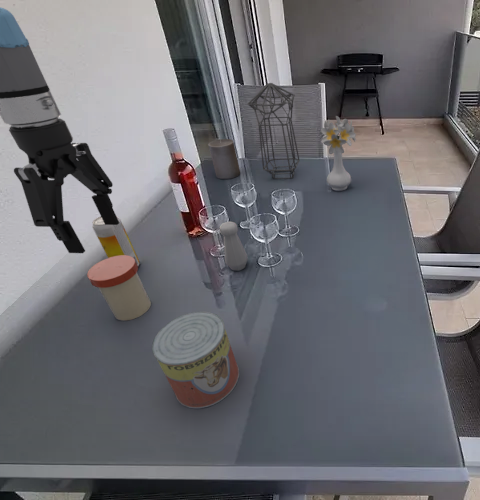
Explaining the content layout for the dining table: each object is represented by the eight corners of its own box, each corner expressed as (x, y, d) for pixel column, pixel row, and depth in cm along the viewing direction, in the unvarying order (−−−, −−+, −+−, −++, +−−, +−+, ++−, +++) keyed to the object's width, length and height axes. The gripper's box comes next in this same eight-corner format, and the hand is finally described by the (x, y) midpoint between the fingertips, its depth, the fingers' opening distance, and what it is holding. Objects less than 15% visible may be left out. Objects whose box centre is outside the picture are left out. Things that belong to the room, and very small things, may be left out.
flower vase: (325, 200, 124) (320, 129, 110) (321, 180, 139) (316, 115, 125) (361, 197, 126) (361, 126, 111) (354, 177, 141) (352, 112, 126)
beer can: (125, 260, 97) (102, 212, 88) (145, 262, 96) (124, 214, 87) (110, 274, 92) (84, 225, 83) (131, 275, 91) (107, 226, 82)
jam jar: (106, 317, 79) (82, 277, 72) (131, 295, 85) (112, 256, 78) (134, 323, 77) (113, 282, 70) (158, 300, 83) (140, 261, 76)
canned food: (195, 421, 58) (172, 377, 51) (163, 383, 64) (139, 339, 57) (251, 376, 65) (238, 332, 58) (218, 345, 71) (202, 302, 64)
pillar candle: (233, 168, 152) (225, 134, 143) (244, 174, 146) (237, 139, 137) (212, 175, 147) (202, 139, 138) (222, 181, 141) (213, 144, 132)
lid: (81, 283, 73) (76, 276, 72) (116, 259, 80) (112, 252, 78) (114, 291, 70) (110, 284, 69) (147, 265, 77) (144, 258, 76)
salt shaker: (222, 270, 92) (210, 228, 85) (235, 258, 96) (224, 217, 89) (241, 274, 90) (230, 231, 83) (253, 262, 95) (244, 220, 87)
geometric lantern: (299, 182, 138) (288, 86, 118) (260, 183, 138) (242, 87, 118) (304, 167, 151) (294, 78, 131) (268, 168, 151) (253, 79, 131)
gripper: (-5, 143, 47) (73, 272, 60) (102, 106, 66) (144, 210, 79) (-56, 143, 48) (32, 271, 61) (65, 106, 66) (113, 210, 79)
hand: (95, 237), depth 70 cm, fingers open, 10 cm apart
